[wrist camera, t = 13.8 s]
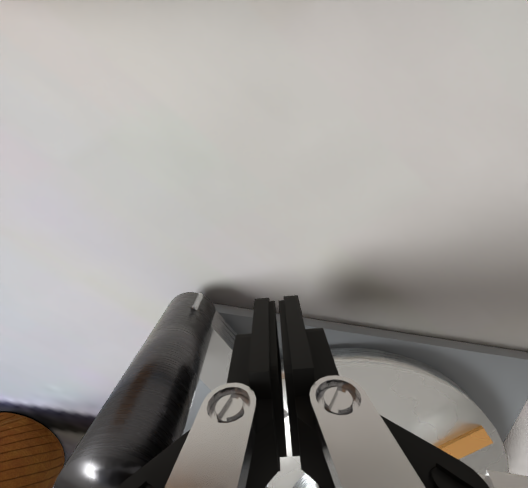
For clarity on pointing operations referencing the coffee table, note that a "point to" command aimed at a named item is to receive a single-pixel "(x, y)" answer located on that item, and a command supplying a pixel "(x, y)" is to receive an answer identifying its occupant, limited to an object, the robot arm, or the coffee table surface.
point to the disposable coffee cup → (28, 453)
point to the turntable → (216, 373)
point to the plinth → (425, 350)
